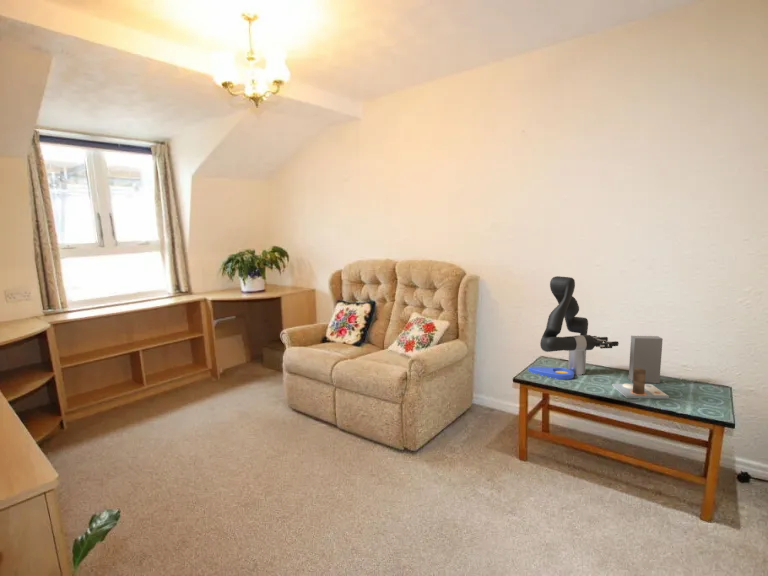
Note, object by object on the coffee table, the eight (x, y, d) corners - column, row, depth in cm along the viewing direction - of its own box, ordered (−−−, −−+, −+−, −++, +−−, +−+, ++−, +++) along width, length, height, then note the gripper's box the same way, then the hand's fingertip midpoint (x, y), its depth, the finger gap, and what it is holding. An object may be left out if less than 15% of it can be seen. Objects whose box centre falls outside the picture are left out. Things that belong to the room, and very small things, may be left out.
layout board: (612, 385, 223) (612, 383, 222) (651, 386, 221) (651, 383, 220) (626, 397, 207) (626, 394, 207) (668, 398, 205) (669, 395, 205)
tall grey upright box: (654, 379, 230) (657, 335, 227) (659, 383, 224) (663, 338, 221) (627, 378, 233) (630, 335, 229) (632, 382, 227) (634, 338, 223)
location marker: (526, 375, 244) (572, 381, 231) (525, 369, 244) (572, 375, 230) (531, 368, 255) (575, 374, 242) (531, 363, 255) (575, 368, 241)
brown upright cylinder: (630, 390, 212) (632, 368, 211) (641, 390, 212) (642, 368, 210) (635, 394, 207) (637, 371, 206) (646, 394, 207) (647, 371, 205)
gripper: (590, 339, 199) (622, 337, 200) (574, 332, 213) (604, 330, 214) (589, 354, 200) (621, 352, 201) (573, 346, 214) (603, 344, 215)
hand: (612, 341), depth 208 cm, fingers open, 8 cm apart
